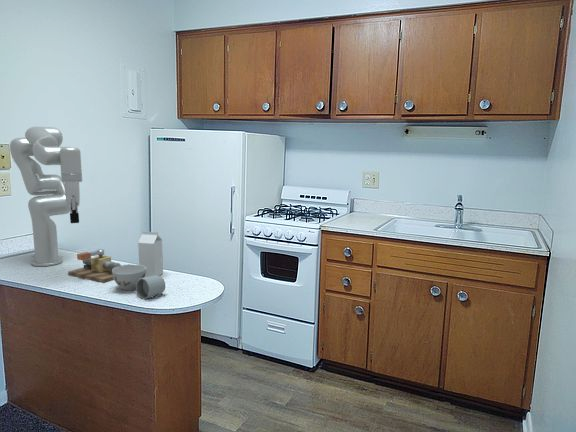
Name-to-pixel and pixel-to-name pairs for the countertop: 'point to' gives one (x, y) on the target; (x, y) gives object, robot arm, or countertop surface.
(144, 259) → the milk carton
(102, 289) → the countertop surface
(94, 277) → the stand
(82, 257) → the valve lever
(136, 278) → the teacup
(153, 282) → the ceramic mug
